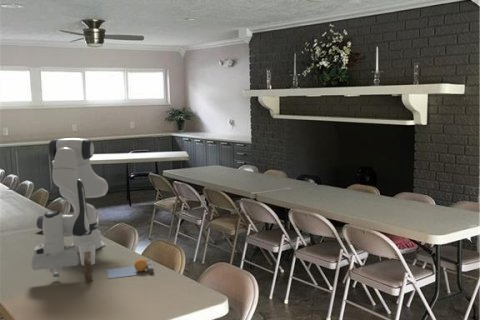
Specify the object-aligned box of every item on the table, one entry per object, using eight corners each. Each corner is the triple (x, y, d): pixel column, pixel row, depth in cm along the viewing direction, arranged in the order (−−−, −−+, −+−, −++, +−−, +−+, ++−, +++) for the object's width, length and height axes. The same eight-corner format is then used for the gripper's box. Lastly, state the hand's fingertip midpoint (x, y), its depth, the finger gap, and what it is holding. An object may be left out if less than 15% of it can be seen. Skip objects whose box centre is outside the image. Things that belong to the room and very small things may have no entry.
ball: (131, 267, 247) (136, 255, 247) (143, 270, 249) (147, 258, 249) (133, 271, 241) (138, 259, 241) (145, 274, 244) (150, 262, 244)
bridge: (85, 282, 232) (84, 261, 231) (85, 271, 247) (83, 252, 246) (92, 281, 233) (91, 260, 232) (91, 271, 248) (90, 251, 246)
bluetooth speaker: (36, 232, 324) (35, 216, 323) (45, 228, 333) (44, 213, 332) (67, 234, 318) (66, 218, 317) (76, 230, 327) (75, 215, 326)
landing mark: (106, 270, 249) (106, 269, 249) (134, 266, 252) (134, 266, 252) (108, 278, 236) (108, 278, 236) (137, 275, 240) (137, 274, 240)
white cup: (79, 267, 254) (78, 247, 253) (80, 262, 262) (78, 243, 261) (96, 265, 256) (95, 245, 255) (96, 260, 264) (95, 241, 263)
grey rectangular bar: (145, 265, 254) (145, 260, 254) (149, 264, 255) (149, 259, 255) (149, 274, 241) (149, 269, 241) (153, 273, 242) (153, 268, 241)
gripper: (78, 243, 240) (80, 271, 242) (31, 247, 234) (33, 277, 236) (78, 246, 234) (80, 276, 236) (29, 251, 228) (32, 281, 230)
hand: (56, 276), depth 236 cm, fingers closed
